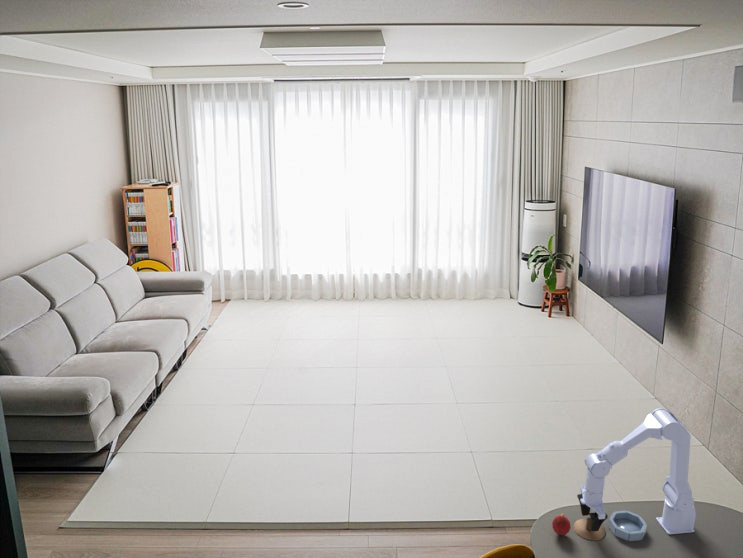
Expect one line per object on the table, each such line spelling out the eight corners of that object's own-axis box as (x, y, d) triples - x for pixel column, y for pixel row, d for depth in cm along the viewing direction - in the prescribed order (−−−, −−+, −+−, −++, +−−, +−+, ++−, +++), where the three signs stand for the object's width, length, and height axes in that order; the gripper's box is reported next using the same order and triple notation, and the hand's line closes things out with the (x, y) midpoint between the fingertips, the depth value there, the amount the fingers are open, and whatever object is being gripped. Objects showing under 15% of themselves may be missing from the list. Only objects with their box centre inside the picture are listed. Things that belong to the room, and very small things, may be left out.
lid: (596, 519, 223) (598, 508, 222) (610, 539, 214) (611, 528, 212) (569, 521, 222) (570, 511, 221) (581, 542, 213) (582, 531, 211)
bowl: (634, 516, 223) (635, 509, 222) (651, 539, 213) (652, 531, 212) (603, 519, 222) (604, 512, 221) (619, 542, 212) (620, 534, 211)
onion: (570, 541, 212) (572, 521, 210) (552, 539, 214) (553, 519, 211) (568, 529, 218) (570, 510, 215) (551, 527, 219) (552, 507, 216)
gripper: (573, 475, 219) (569, 509, 223) (592, 503, 205) (587, 538, 210) (593, 474, 219) (589, 507, 224) (613, 502, 206) (608, 536, 210)
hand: (590, 522), depth 217 cm, fingers open, 7 cm apart
